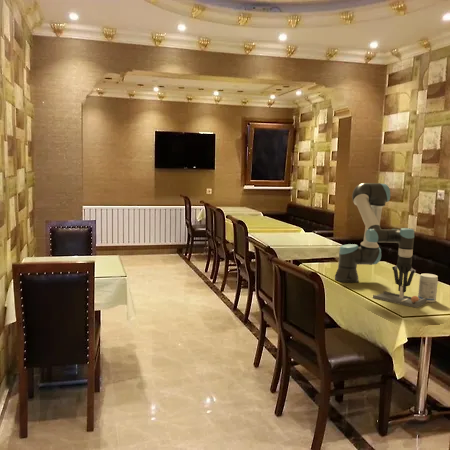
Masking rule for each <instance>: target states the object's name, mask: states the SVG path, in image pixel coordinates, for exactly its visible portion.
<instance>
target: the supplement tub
mask: <svg viewBox="0 0 450 450" xmlns="http://www.w3.org/2000/svg"><path fill="white" fill-rule="evenodd" d="M438 277H439V276H438V275H436V274H433V273H421V274H420V275H419V281H418V282H419V284H418V294H417V297H418V298H419V299H423V298H427V299H426V303H435V302H437V292H438V282H439V279H438Z"/></svg>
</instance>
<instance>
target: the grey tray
mask: <svg viewBox="0 0 450 450" xmlns="http://www.w3.org/2000/svg"><path fill="white" fill-rule="evenodd" d="M399 294H400V293H395V292H390V291H385V290H383V291H382V293H380V294H373V295H372V299H376V298H377V300H380V299H381V301H384V302H385V301H386V302H390V303H393V304H394V303H395V304H397V305H398V304H399V305H403V306H406V307H410V308H411V307H412V308H415V309H416V308H419V307H421V306H423V305H426V304H427V302H426V299H427V298H423V299H419V300H418V301H416V302H415V303H413V302H412V301H411V298H412V297H413V296H408V295H404V297H403V298H400V297H399Z"/></svg>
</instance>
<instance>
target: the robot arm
mask: <svg viewBox="0 0 450 450" xmlns="http://www.w3.org/2000/svg"><path fill="white" fill-rule="evenodd" d="M351 199H352V203H353V204H354V206H356V207H357V209H358V212H359V214H360V216H361V219H362V221H363V223H364V226H365V227H364V234H363V241H361V242H360V244H359V245H360V246H359V245H358V244H355V243H354V244H353V243H352V244H351V243H348V244H343V245H341V246H340V247H339V252H338V266H337V270H336V272H335V275H334V280H335V279H336V280H335V281H337V280H338V281H337V282H340V283H341V282H342V283H357V282H359V275H358V271H357V267H358V266H357V265H359V266H360V265H363V266H364V265H367V266H371V265H377V264H379V262H380V261H381V259H382V249H381V248H380V246H379V244H378V243H387V244H388V243H390V244H392V243H394V244H395V243H396V244H398V252H397V262H396V265H393V266H392V267H391V269H392V270H393V275H394V276H393V277H394V281H395V283H394V284H396V285H398V290H397V291H398V292H399V293H398V294H399V297H400V298H403V297H404V296H405V293H406V292H407V287H409V286H410V285H411V283H412V281H413V277H414V275H415V273H417V270H416V269H414V268H413V265H412V263H413V253H414V252H413V251H414V242H415V229H413V228H407V227H401V228H400V229H398V228H391V229H388V228H387V229H384V228H383V229H382V228H381V217H382V213H383V212H382V211H383V208H384V207H385V206H386V203H388V202H390V199H391V189H390V187H389V185H388V184H387V183H380V182H362V183H359V184H357V185H356V186H355V187H354V189H353V191H352V194H351ZM409 272H410V273H409ZM408 275H409V276H408Z"/></svg>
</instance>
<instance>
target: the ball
mask: <svg viewBox="0 0 450 450" xmlns="http://www.w3.org/2000/svg"><path fill="white" fill-rule="evenodd" d="M411 297H412V298H411V301H412V302H413V303H415V302H416V301H418V300H419V298H418V295H413V296H411Z"/></svg>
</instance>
